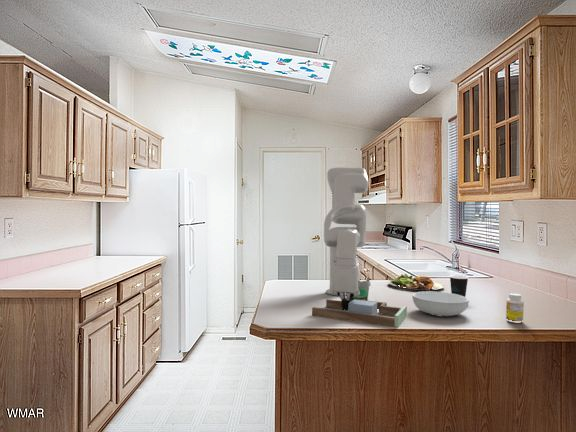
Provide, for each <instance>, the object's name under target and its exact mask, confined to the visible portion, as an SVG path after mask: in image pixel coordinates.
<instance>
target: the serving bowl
mask: <svg viewBox="0 0 576 432" xmlns="http://www.w3.org/2000/svg"><path fill="white" fill-rule="evenodd" d="M412 301H413V304H414V306H415V307H416V308H417V309H418V310H420V311H422V312H424V313H426V314H428V313H429V315H431V314H433V315H432V316H434V315H441V316H440V317H443V316H446V317H452V316H456V315H460V314H462V313H463V312H465V311H466V310H467V308H468V307H469V303H470V299H469V298H468V297H466V296H465V297H464V296H461V295H457V294H452V293H451V292H445V291H435V290H434V291H433V290H422V291H417V292H414V293H412Z"/></svg>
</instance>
